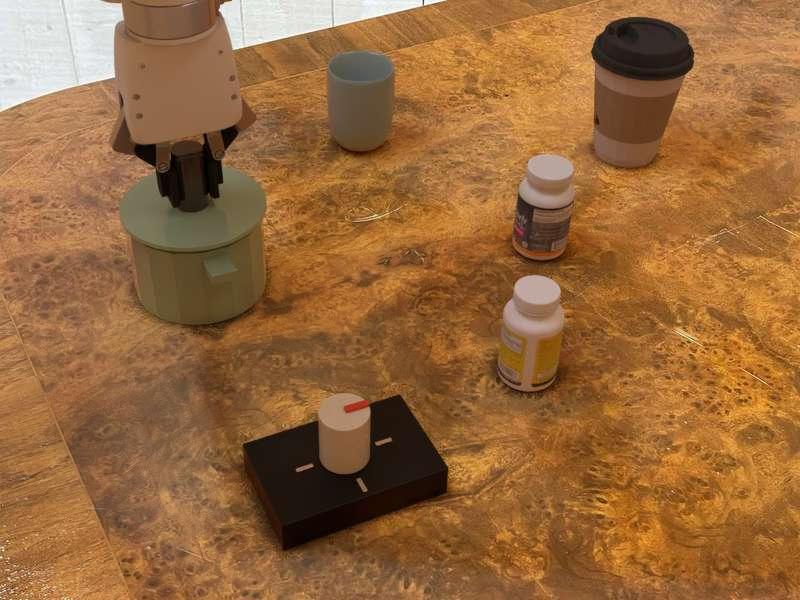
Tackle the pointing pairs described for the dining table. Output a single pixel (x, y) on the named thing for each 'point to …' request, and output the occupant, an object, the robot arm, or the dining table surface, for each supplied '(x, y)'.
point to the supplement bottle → (531, 334)
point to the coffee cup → (636, 87)
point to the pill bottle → (544, 207)
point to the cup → (360, 99)
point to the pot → (200, 279)
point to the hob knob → (344, 433)
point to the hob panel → (343, 475)
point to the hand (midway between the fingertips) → (191, 193)
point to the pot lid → (192, 206)
